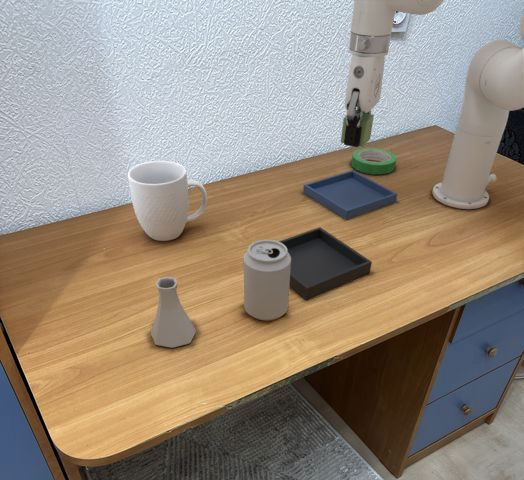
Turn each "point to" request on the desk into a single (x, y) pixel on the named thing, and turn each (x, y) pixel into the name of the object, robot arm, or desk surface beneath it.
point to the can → (266, 279)
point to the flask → (171, 317)
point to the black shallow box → (322, 262)
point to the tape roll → (373, 167)
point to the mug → (162, 198)
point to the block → (366, 128)
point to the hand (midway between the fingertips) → (355, 140)
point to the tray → (349, 194)
